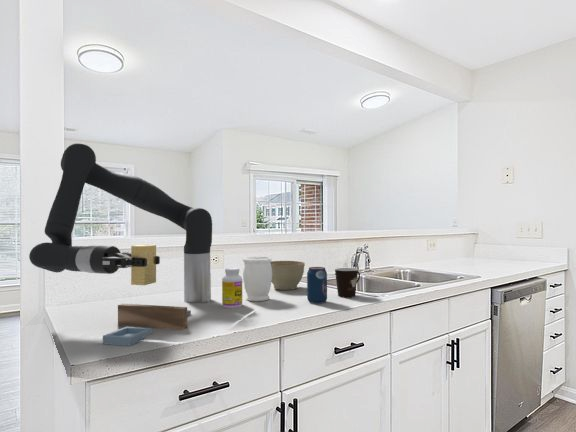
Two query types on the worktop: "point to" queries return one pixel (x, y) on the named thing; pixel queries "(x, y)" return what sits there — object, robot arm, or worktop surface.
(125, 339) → the socket
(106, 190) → the robot arm
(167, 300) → the worktop surface
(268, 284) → the jar
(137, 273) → the block
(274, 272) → the planter bowl
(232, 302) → the supplement bottle
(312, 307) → the worktop surface
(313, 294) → the soda can
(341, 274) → the coffee mug
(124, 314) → the board
